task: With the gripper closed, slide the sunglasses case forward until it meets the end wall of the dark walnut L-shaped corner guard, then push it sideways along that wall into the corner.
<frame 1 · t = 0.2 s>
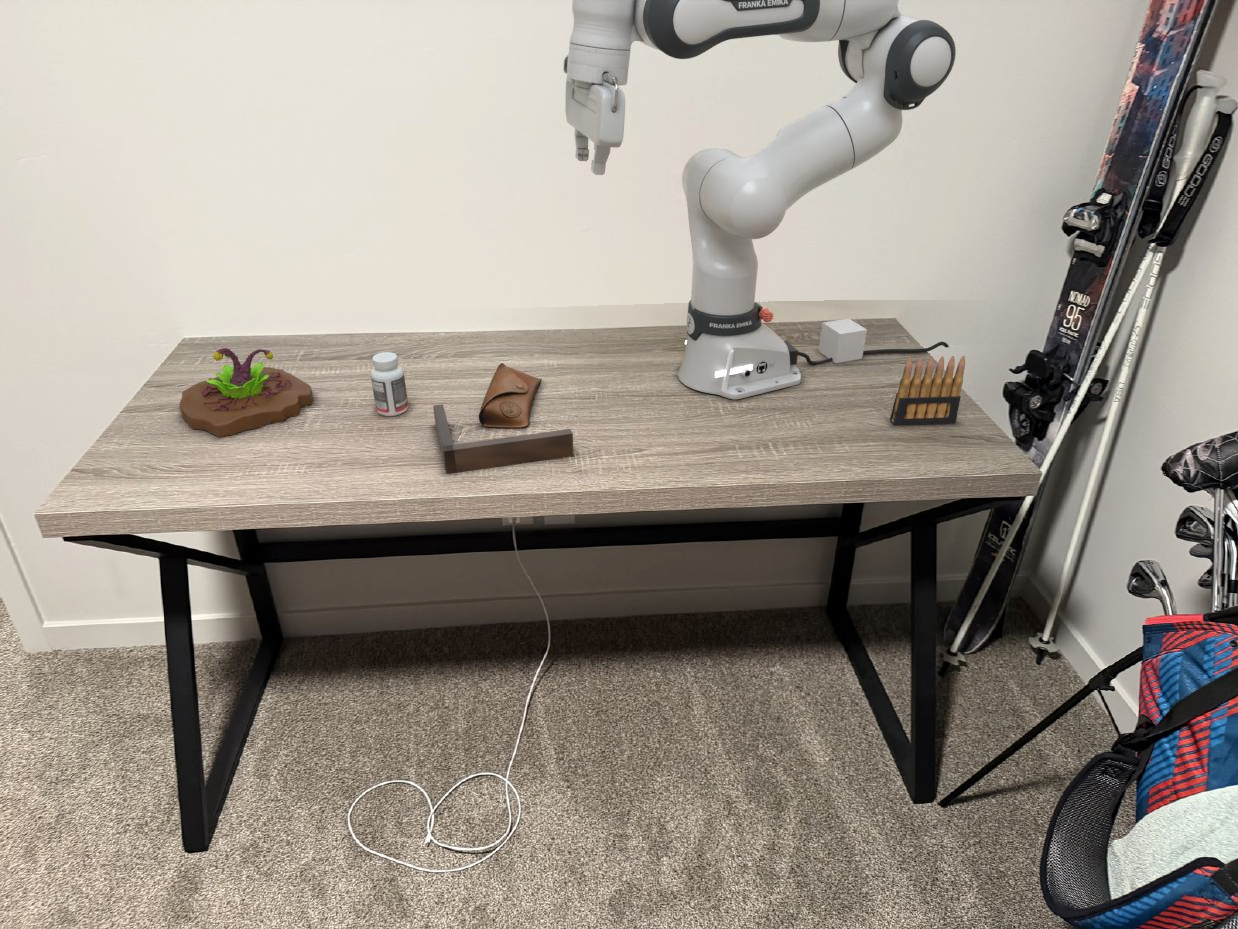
hand: (589, 166, 131), 39 cm above the table, tool pointing down, fingers open, 8 cm apart
corner guard: (488, 441, 136), on the table
sunglasses case: (512, 403, 147), on the table
plant: (245, 406, 146), on the table
white cube: (839, 355, 166), on the table
pill bottle: (392, 410, 145), on the table
ammunition clip: (922, 423, 143), on the table
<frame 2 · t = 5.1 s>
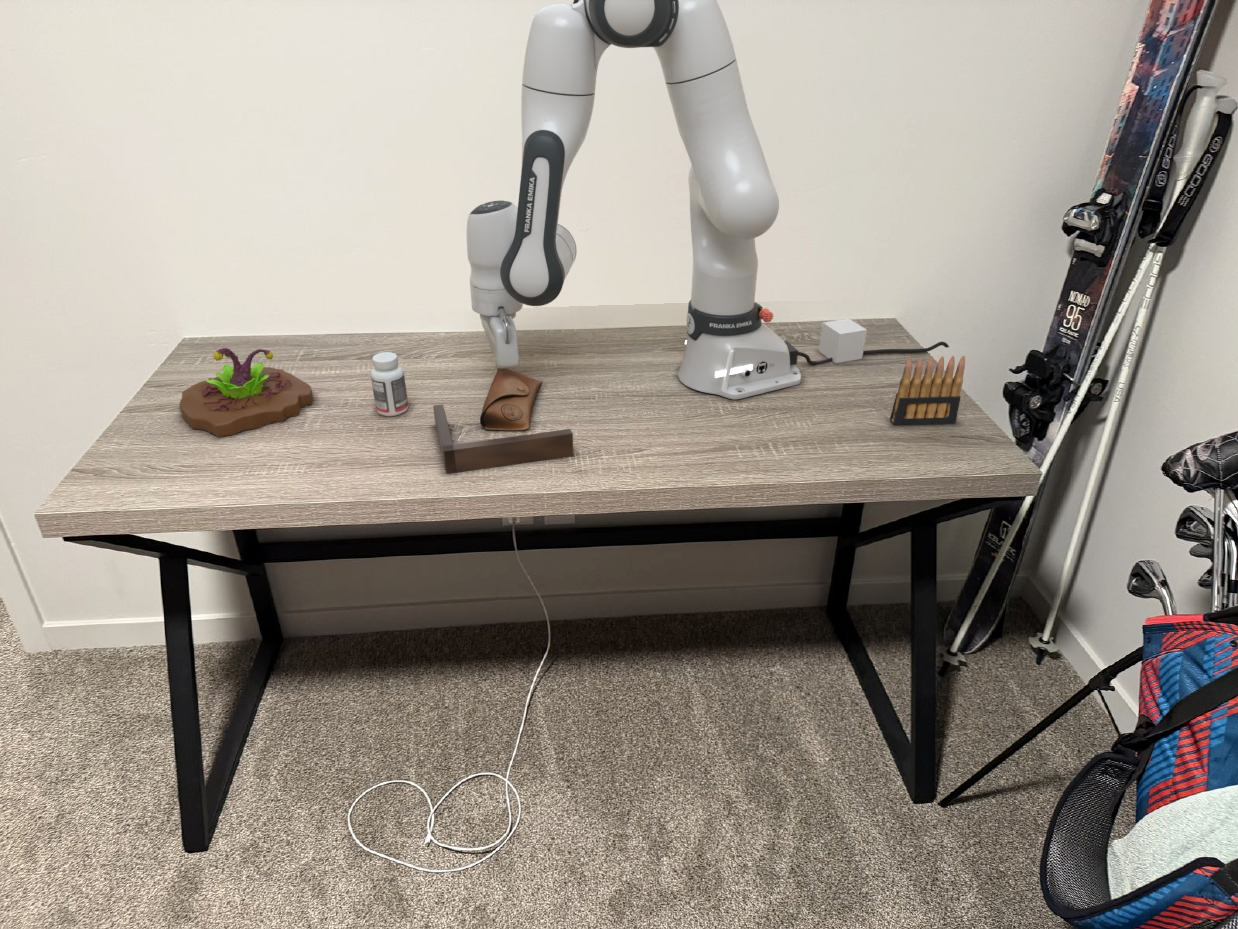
hand: (501, 370, 155), 2 cm above the table, tool pointing down, fingers closed
sunglasses case: (512, 406, 147), on the table, touching gripper
everything else where it was.
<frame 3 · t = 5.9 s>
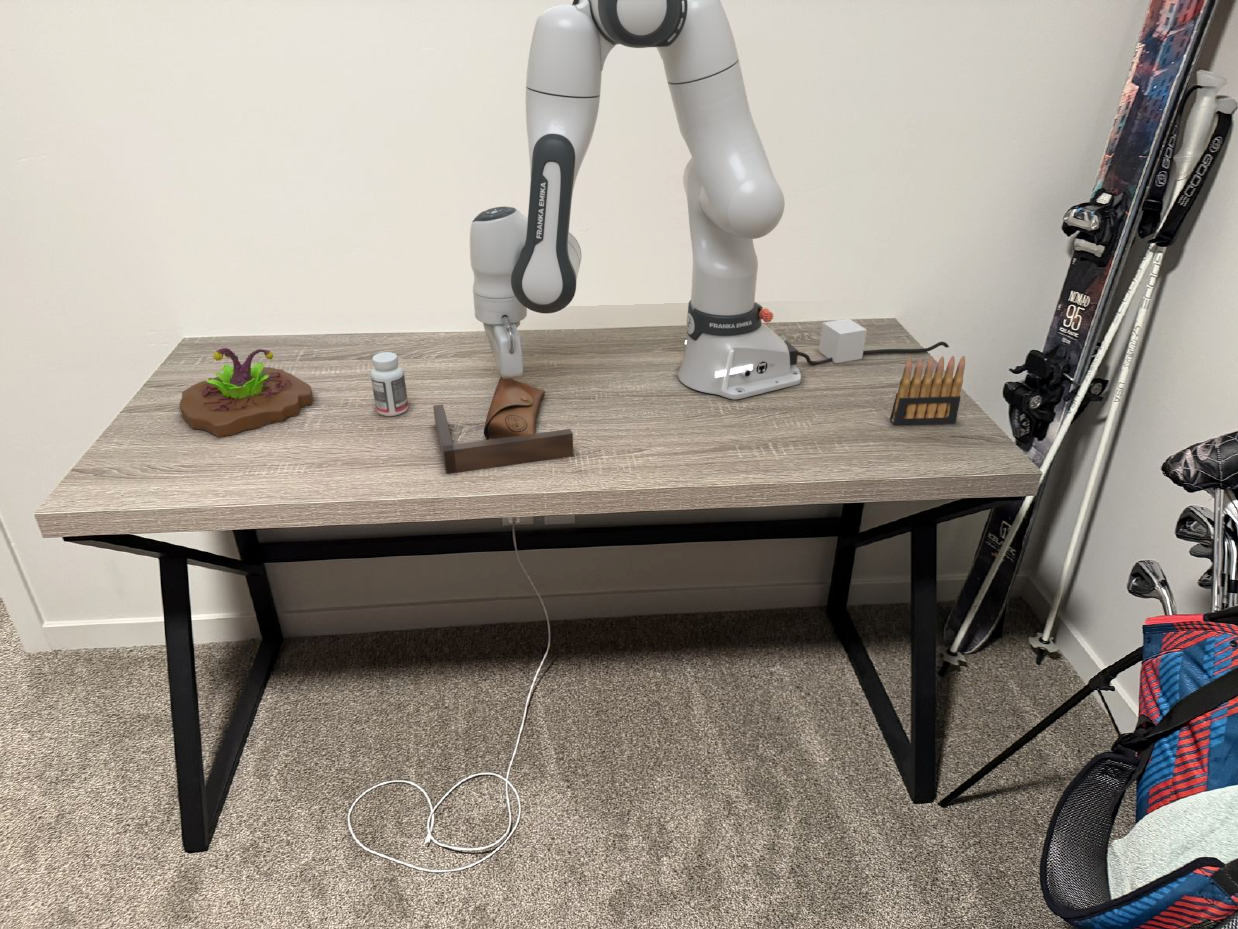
hand: (505, 379, 151), 2 cm above the table, tool pointing down, fingers closed
sunglasses case: (516, 416, 143), on the table, touching gripper
everything else where it was.
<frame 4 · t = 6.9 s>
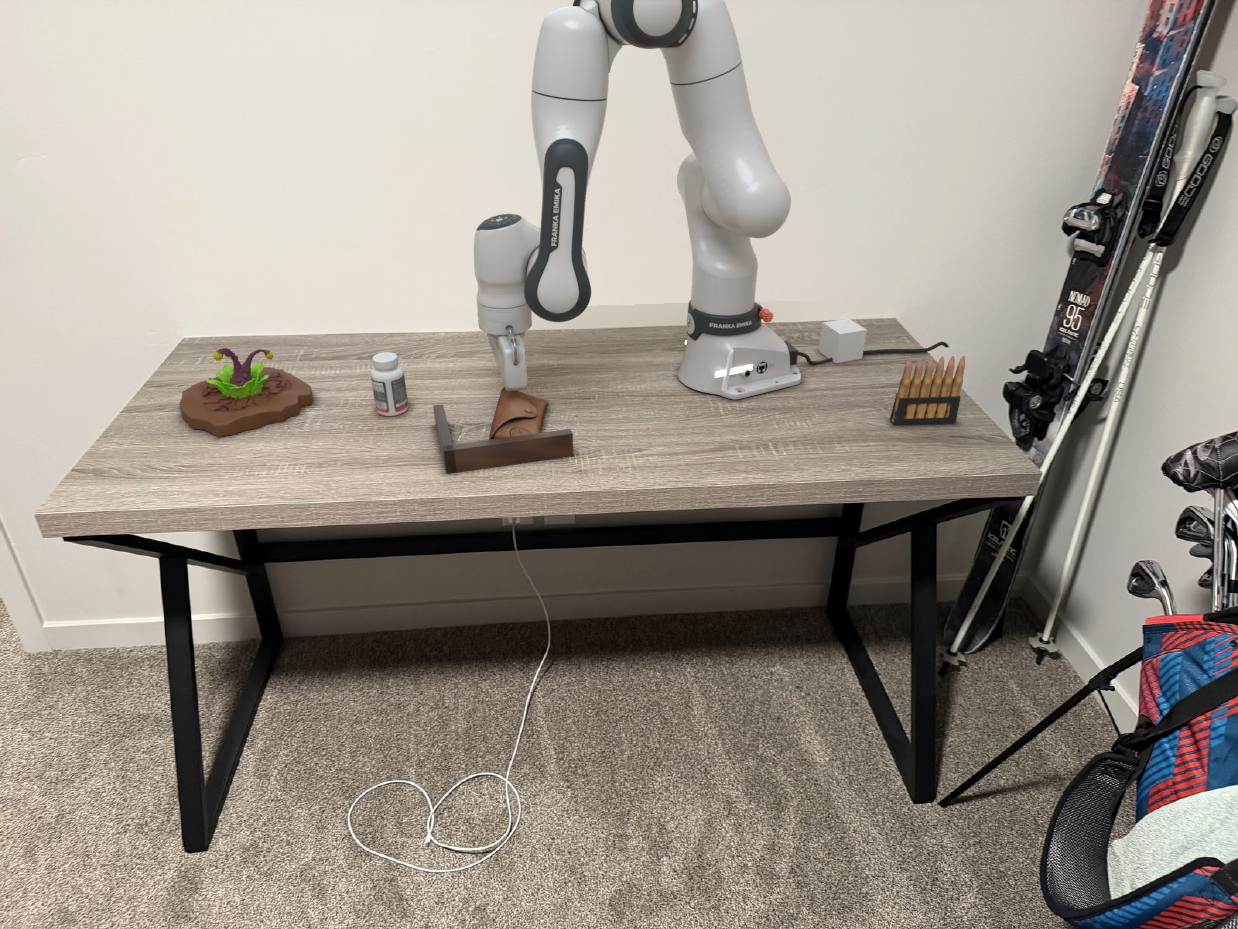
hand: (509, 390, 148), 2 cm above the table, tool pointing down, fingers closed
sunglasses case: (520, 428, 140), on the table, touching corner guard, gripper
everything else where it was.
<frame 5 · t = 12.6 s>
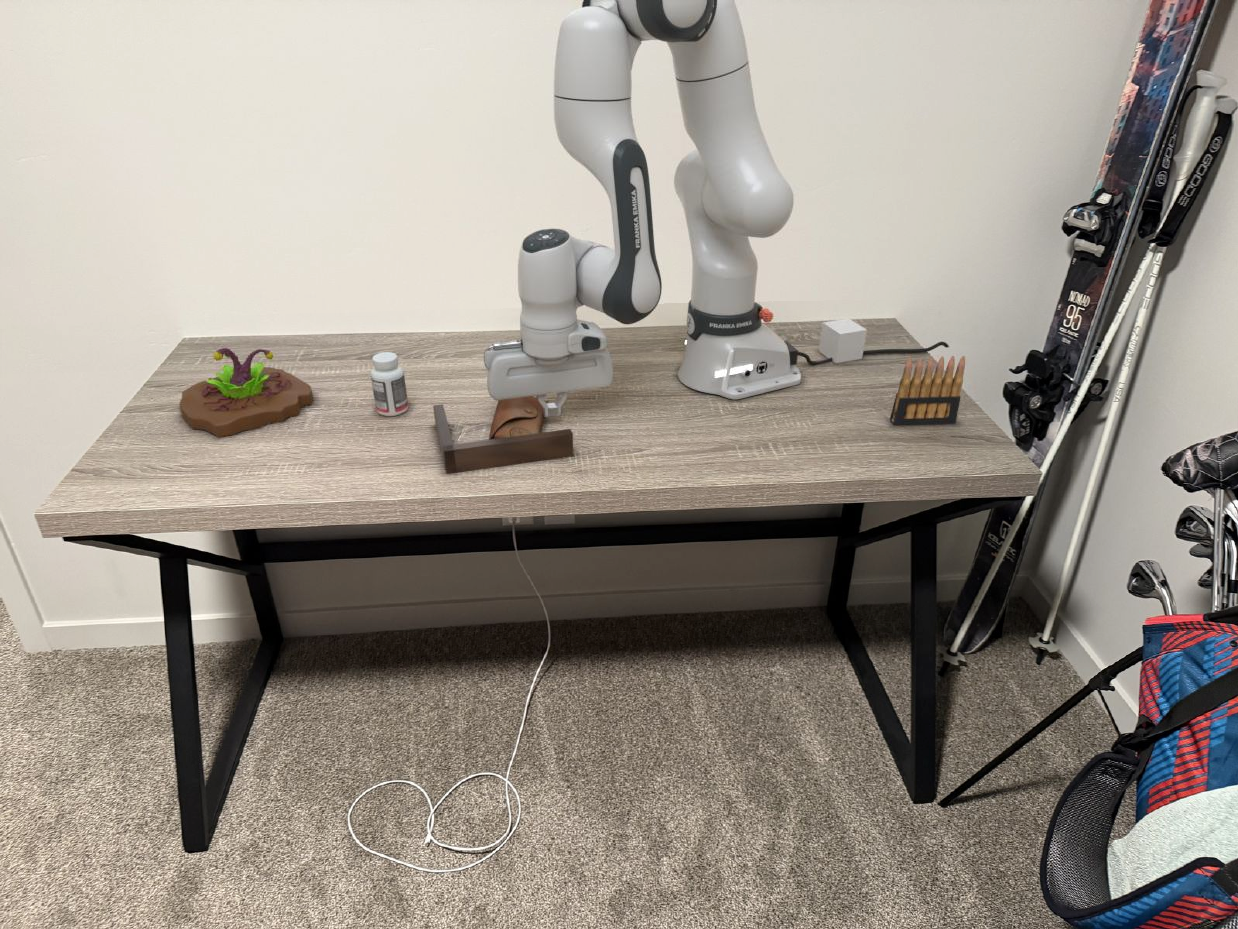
hand: (551, 415, 140), 2 cm above the table, tool pointing down, fingers closed
sunglasses case: (520, 428, 140), on the table, touching gripper
everything else where it was.
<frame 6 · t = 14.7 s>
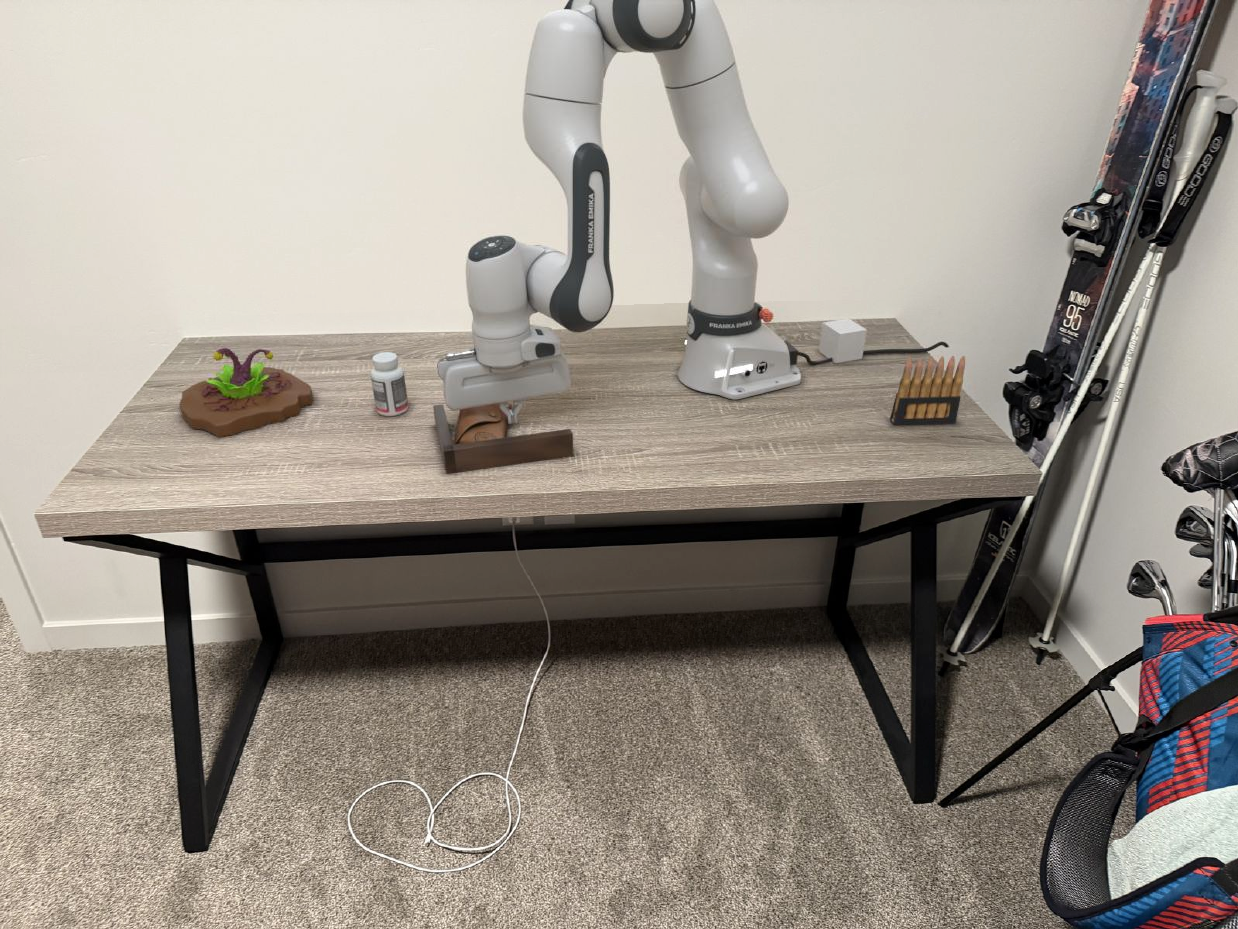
hand: (511, 421, 139), 1 cm above the table, tool pointing down, fingers closed, pressing on sunglasses case
sunglasses case: (484, 433, 139), on the table, touching corner guard, gripper
everything else where it was.
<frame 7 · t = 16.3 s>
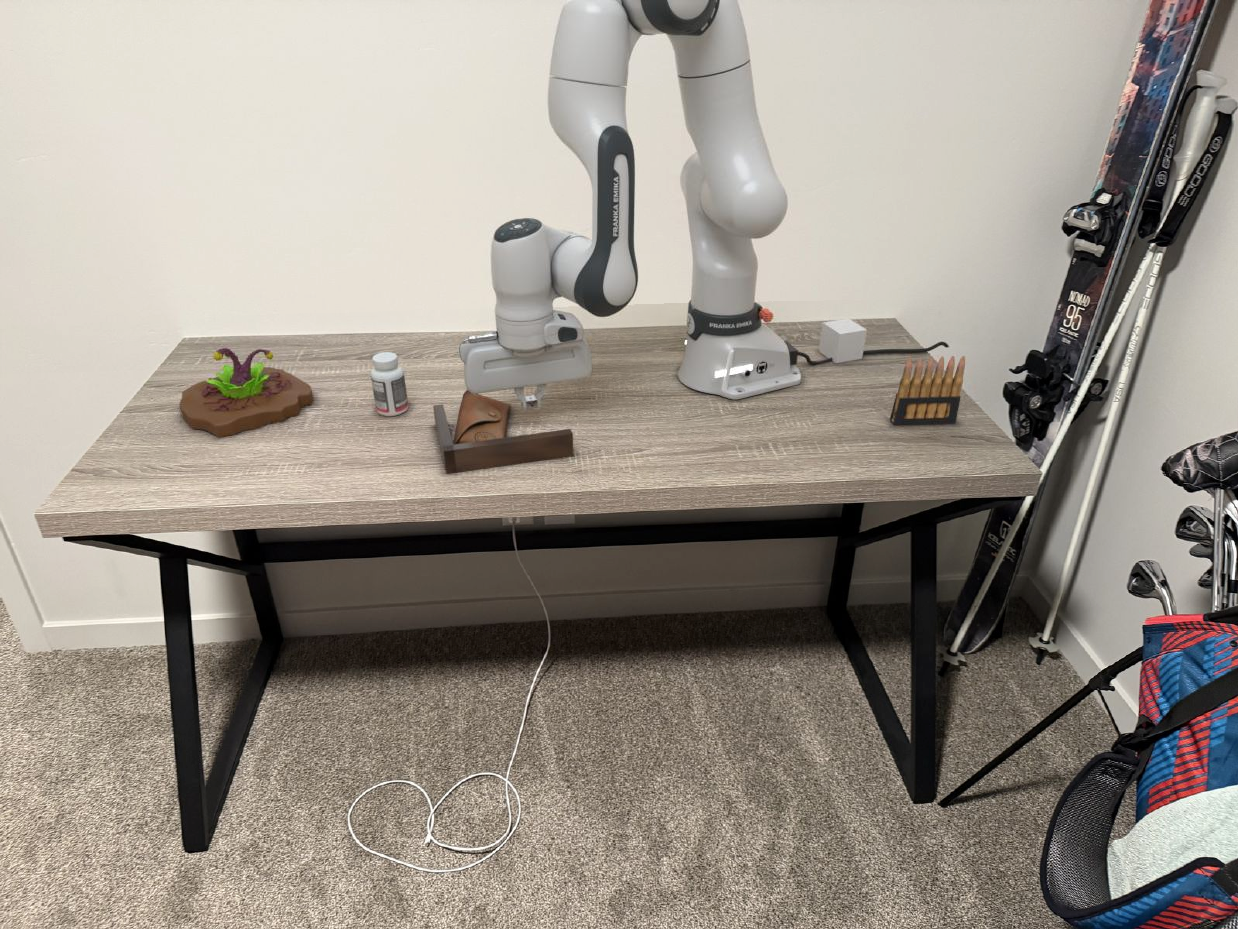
hand: (531, 407, 138), 4 cm above the table, tool pointing down, fingers closed
sunglasses case: (484, 432, 139), on the table
everything else where it was.
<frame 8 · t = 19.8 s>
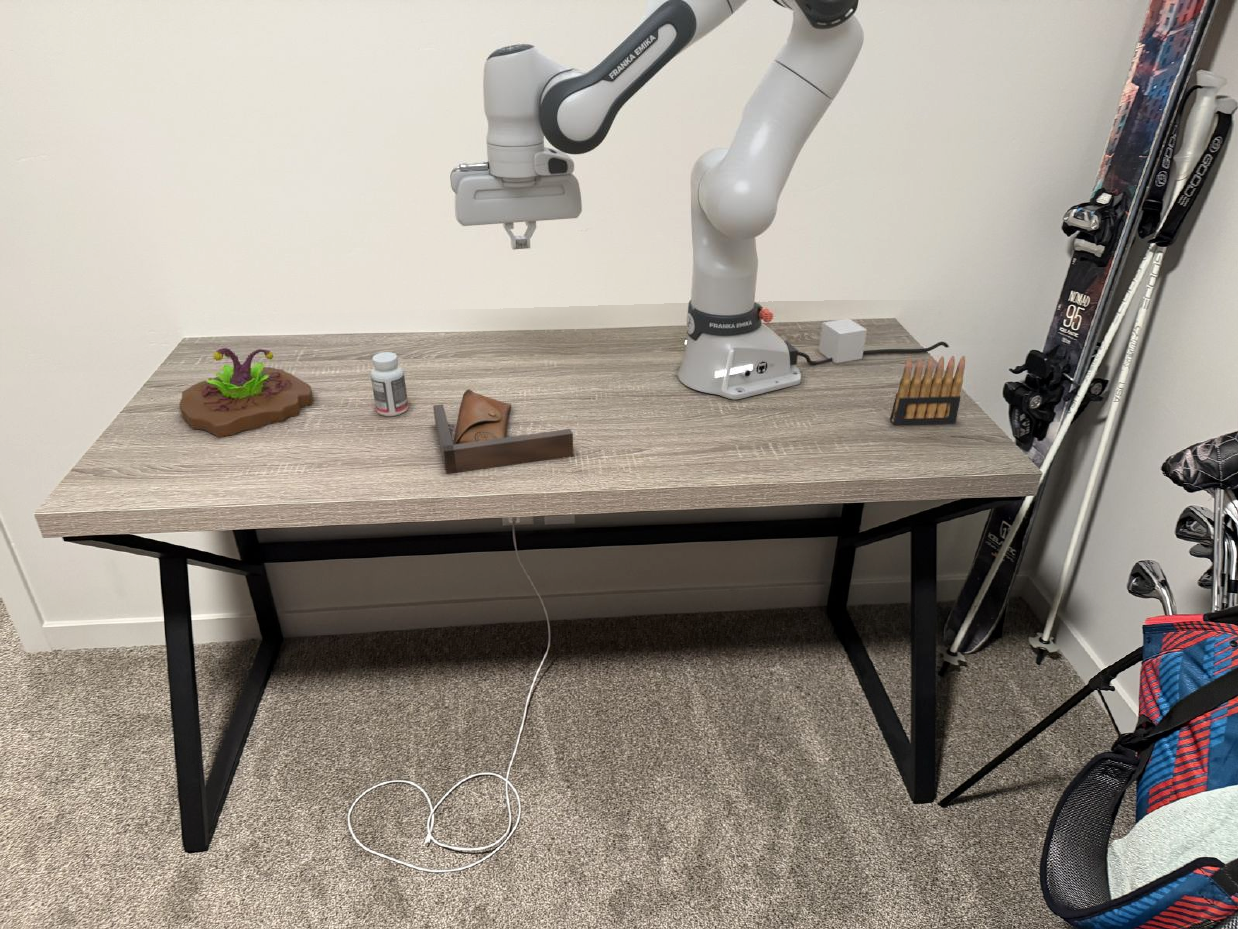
hand: (520, 247, 140), 25 cm above the table, tool pointing down, fingers closed
nothing on the table moved.
at the end: sunglasses case 1.3 cm from the target spot on the corner guard, point 0.0 cm above the corner guard's base; sunglasses case tilted 0°; sunglasses case moved 10.7 cm from its start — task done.
